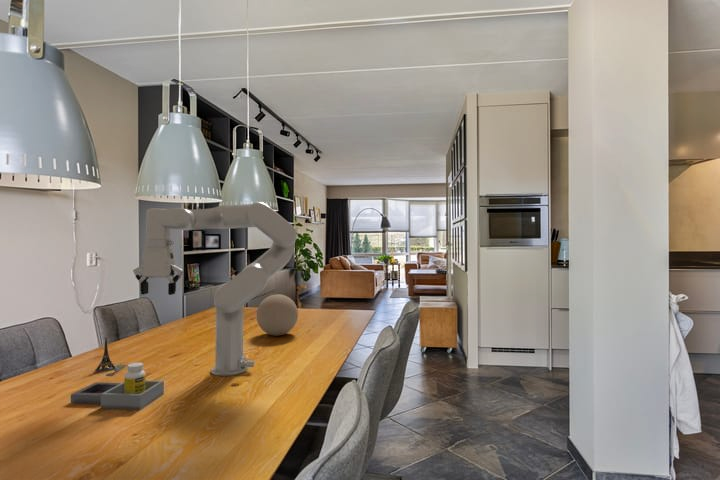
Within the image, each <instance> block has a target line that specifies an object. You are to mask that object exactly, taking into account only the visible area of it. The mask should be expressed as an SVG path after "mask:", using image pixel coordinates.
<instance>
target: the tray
mask: <svg viewBox="0 0 720 480" xmlns="http://www.w3.org/2000/svg"><path fill="white" fill-rule="evenodd" d="M120 383H121V384H119V385H117V386H115V387H113V388H111V389H109V390H108V391H106V392H101V393H102V394H101V404H100V409H104V410H105V409H107V410H108V409H109V410H132V411H133V410H135V411H141V410H142V409H143V410H144V408H145V407H147V406H148V405H150V404H151V403H153V402H154V401H156V400H158V399H159V398H160V397H162V396H163V395H164V394H165V390H164V389H165V388H164V387H165V386H164V384H165V381H164V380H147V379H145V391H144V392H142V393H141V394H124V381H123V382H120Z"/></svg>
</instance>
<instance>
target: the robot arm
mask: <svg viewBox="0 0 720 480" xmlns="http://www.w3.org/2000/svg"><path fill="white" fill-rule="evenodd" d="M145 212H146V213H145V248H144V249H143V253H142V260H141V265H140V266H138V267H136V268H134V269H132V271H133V274H134V275H135V278H136V279H137V280H138V283H140V294H141V295H143V296H144V295H147V294H149V282H148V280H149V279H150V278H166V279H167V281H168V284H167V285H168V286H167V287H168V291H167V292H168V295H169V296H172V295H175V294H176V292H177V289H176V288H177V283H178V281H179V280H180V279H181V277H182V276H183V273H184V270H183V269H182V268H181V267H179V266H177V265H176V258H175V253H174V249H173V248H171V246H173V245H175V243H174V240H171V229H172V230H179V231H180V230H181V231H193V230H194V231H196V230H197V231H198V230H212V229H213V230H214V229H215V230H217V229H218V230H229V229H242V228H243V229H245V228H247V229H248V228H257V229H258V230H259V231H260V232H261V233H263V234H264V235H265V236H266V237H268V238H269V239H270V240H272V244H271V246H270V247H269V248H268V250H266V251H265V252H264V253H263V254H262V255H260V256H259V257H258V258H256V260H254V261H253V262H251V263H250V264H247V266H245V267H244V268H243V269H242V270H241V271H240V272H239V273H238V274H237V275H235V276H234V277H232V278H231V279H230V280H228V282H224V283H223V284H221V285H219V287H218V288H217V290H215V293H214V296H213V302H214V306H215V365H213V366H212V367H211V369H210V373H211V375H212V374H213V375H214V376H221V377H224V376H225V377H229V376H235V375H240V374H242V373H245V372H246V371H248V368H255V361H254V360H253V359H247V357H246V355H244V307H245V305H246V304H247V303H249V302H250V301H251V300H252V299H253V298H255V297H256V296H257V295H258V294H260V293H261V292H262V291H263V290H264V289H265V288H266V286H267V285H268V283H269V280H271V278H272V277H274V276H275V275H276V274H277V273H279V272H280V271H281V270H282V269H283V268H284V267H286V265H287V264H289V262H290V260H291V259H292V257H293V254H294V250H295V243H296V241H297V238H298V237H297V236H298V233H297V229H296V228H295V226H294V225H292V223H290V222H289V221H288V220H286V219H285V218H284V217H283V216H282V215H280V214H279V213H278V212H276V211H275V210H274V209H273V208H271V207H270V206H269V205H268V204H267V203H264V202H261V201H257V202H256V201H255V202H254V203H249V204H248V203H243V204H224V205H218V206H215V207H212V208H211V207H210V208H203V209H202V208H199V209H186V208H184V207H175V208H168V209H167V208H161V207H160V208H159V207H158V208H157V207H155V208H153V207H151V208H148V209H147V210H146V211H145Z"/></svg>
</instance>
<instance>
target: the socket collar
mask: <svg viewBox="0 0 720 480" xmlns="http://www.w3.org/2000/svg"><path fill="white" fill-rule="evenodd" d="M121 383H122V382H102V381H101V382H100V381H99V382H97V381H96V382H94V383H91V384H89V385H87V386H85V387H83V388H80V389H78V390H77V391H75V392H73V393H71V394H70V404H81V405H82V404H86V405H101V394H102V393H104V392H106V391H108V390H109V389H111V388H113V387H115V386H117V385H119V384H121Z"/></svg>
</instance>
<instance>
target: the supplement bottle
mask: <svg viewBox="0 0 720 480" xmlns="http://www.w3.org/2000/svg"><path fill="white" fill-rule="evenodd" d="M126 367H127V368H126V369H127V372H125V374H124V379H123V380H124V381H123V382H124V394H141V393H142V392H144V391H145V380H146V377H147V375H146V371H145V370H143V369H144V364H143V362H133V363H129V364H127V366H126Z"/></svg>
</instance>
